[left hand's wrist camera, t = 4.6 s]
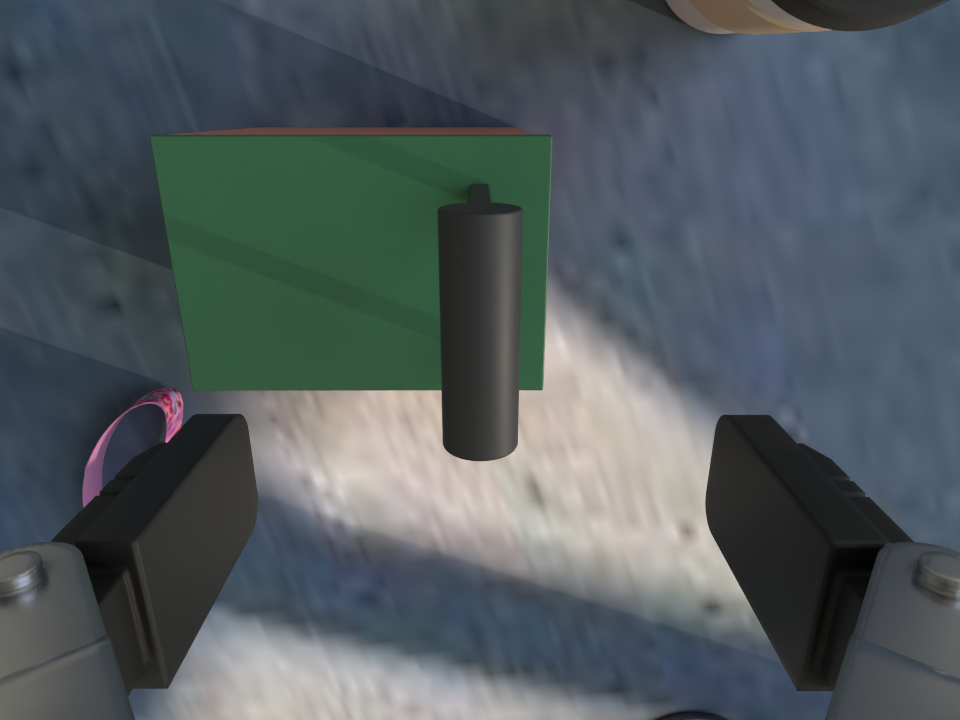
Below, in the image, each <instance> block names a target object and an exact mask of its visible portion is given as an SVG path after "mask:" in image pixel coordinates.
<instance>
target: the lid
mask: <svg viewBox="0 0 960 720" xmlns="http://www.w3.org/2000/svg"><path fill="white" fill-rule="evenodd" d="M552 138H553V137H552V136H551V135H155V136H150V141H151V147H152V152H153V158H154V164H155V170H156V176H157V181H158V187H159V193H160V199H161V205H162V211H163V216H164V222H165V228H166V234H167V240H168V246H169V251H170V257H171V263H172V269H173V275H174V281H175V286H176V292H177V298H178V304H179V310H180V316H181V321H182V327H183V333H184V339H185V345H186V351H187V356H188V362H189V368H190V374H191V380H192V386H193V390H442V426H443V445H444V448H445V449H446V450H447V451H448V452H449V453H450V454H452V455H453V456H456V457H458V458H461V459H465V460H471V461H490V460H496V459H500V458H503V457H505V456H507V455H509V454H511V453H512V452H513V451H514V450H515V448H516V447H517V444H518V405H519V390H543V378H544V352H545V325H546V298H547V271H548V245H549V218H550V191H551V164H552Z"/></svg>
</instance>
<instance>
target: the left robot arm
mask: <svg viewBox="0 0 960 720" xmlns="http://www.w3.org/2000/svg"><path fill="white" fill-rule="evenodd" d="M257 510H258V495H257V487H256V480H255V473H254V466H253V459H252V452H251V445H250V438H249V431H248V426H247V422H246V420H245V418H244V416H243V415H241V414H195V415H193V416H192V417H191V418H190V419H189V420H188V421H187V422H186V423H185V424H184V425H183V426H182V427H181V429H180V430H179V431H178V432H177V433H176V434H175V435H174V436H173V437H172V438H171V439H170V440H169V441H168V442H161V443H159V444H158V445H156V446H154V447H152V448H150V449H149V450H147V451H145V452H143V453H141V454H140V455H138V456H136V457H134V458H133V459H132V460H131V461H130V462H129V463H128V464H127V465H126V466H125V467H124V468H123V469H122V470H121V471H120V472H119V473H118V474H117V475H116V476H115V480H111V481H110V482H109V483H108V484H107V485H106V486H105V487H104V488H103V489H102V490H101V491H100V495H99V496H95V497H94V498H93V499H92V500H91V501H90V502H89V503H88V504H87V505H86V506H85V507H84V508H83V509H82V510H81V511H80V512H79V513H78V514H77V515H76V516H75V517H74V518H73V519H72V520H71V521H70V522H69V523H68V524H67V525H66V526H65V527H64V528H63V529H62V530H61V531H60V532H59V533H58V534H57V535H56V536H55V537H54V538H53V539H52V540H51V541H50V542H41V543H33V544H28V545H23V546H19V547H16V548H12V549H9V550H6V551H4V552H1V553H0V720H135V718H134V715H133V712H132V708H131V705H130V702H129V699H128V696H129V694H130V693H131V691H132V689H168V687H169V686H170V684H171V682H172V680H173V678H174V676H175V674H176V673H177V671H178V669H179V667H180V665H181V663H182V661H183V660H184V658H185V656H186V654H187V652H188V650H189V648H190V647H191V645H192V643H193V641H194V639H195V637H196V635H197V634H198V632H199V630H200V628H201V626H202V624H203V622H204V621H205V619H206V617H207V615H208V613H209V611H210V609H211V608H212V606H213V604H214V602H215V600H216V598H217V596H218V595H219V593H220V591H221V589H222V587H223V585H224V583H225V582H226V580H227V578H228V576H229V574H230V572H231V570H232V569H233V567H234V565H235V563H236V561H237V559H238V557H239V556H240V554H241V552H242V550H243V548H244V546H245V544H246V543H247V541H248V539H249V537H250V535H251V533H252V531H253V529H254V526H255V522H256V517H257ZM706 516H707V521H708V525H709V529H710V531H711V534H712V536H713V537H714V539H715V541H716V543H717V545H718V547H719V548H720V550H721V552H722V554H723V556H724V558H725V559H726V561H727V563H728V565H729V567H730V569H731V570H732V572H733V574H734V576H735V578H736V580H737V581H738V583H739V585H740V587H741V589H742V591H743V592H744V594H745V596H746V598H747V600H748V602H749V603H750V605H751V607H752V609H753V611H754V613H755V614H756V616H757V618H758V620H759V622H760V624H761V625H762V627H763V629H764V631H765V633H766V635H767V636H768V638H769V640H770V642H771V644H772V646H773V647H774V649H775V651H776V653H777V655H778V657H779V658H780V660H781V662H782V664H783V666H784V668H785V669H786V671H787V673H788V675H789V677H790V679H791V680H792V682H793V684H794V686H795V688H796V690H797V691H833V695H832V699H831V702H830V705H829V708H828V712H827V715H826V718H825V720H960V553H959V552H956V551H954V550H951V549H948V548H944V547H941V546H937V545H932V544H927V543H919V542H914V541H913V540H912V539H911V538H910V537H909V536H908V535H907V534H906V533H905V532H904V531H903V530H902V529H901V528H900V527H899V526H898V525H897V524H896V523H895V522H894V521H893V520H892V519H891V518H890V517H889V516H888V515H887V514H886V513H885V512H884V511H883V510H882V509H881V508H880V507H879V506H878V505H877V504H876V503H875V502H874V501H872V500H871V499H870V498H869V497H865V493H864V492H863V491H862V490H861V489H860V488H859V487H858V486H857V485H856V484H855V483H854V482H853V481H850V478H849V477H848V476H847V475H846V474H845V473H844V472H843V471H842V470H841V469H840V468H839V467H838V466H837V465H836V464H835V463H834V462H833V461H832V460H831V459H830V458H828V457H826V456H824V455H823V454H821V453H819V452H817V451H815V450H814V449H812V448H810V447H808V446H806V445H804V444H797V443H796V442H795V441H794V440H793V439H792V438H791V437H790V436H789V435H788V434H787V433H786V432H785V430H784V429H783V428H782V427H781V426H780V425H779V424H778V423H777V422H776V421H775V420H774V419H773V418H772V417H771V416H769V415H723V416H721V417H720V418H719V420H718V422H717V425H716V429H715V435H714V442H713V449H712V456H711V463H710V470H709V477H708V484H707V491H706ZM661 720H727V719H725V718H723V717H720V716H717V715H713V714H707V713H683V714H677V715H673V716H669V717H666V718H663V719H661Z"/></svg>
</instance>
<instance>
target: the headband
mask: <svg viewBox="0 0 960 720" xmlns="http://www.w3.org/2000/svg"><path fill="white" fill-rule="evenodd" d="M143 404H156V405H158V406H160V407H161V408H162V409H163V411H164V413H165V415H166V421H167V431H166V439H165V442H168V441H169V440H170V439H171V438H172V437H173V436H174V435H175V434H176V433H177V432H178V431H179V430H180V429H181V424H182V418H183V401H182V397H181V395H180V393H179V392H178V391H177V390H175V389H173V388H167V387H166V388H160V389H157V390H154V391H152V392H150V393H148V394H147V395H145V396H144V397H142V398H141V399H140V400H138V401H137V402H136V403H135V404H134V405H132V406H131V407H130V408H129V409H128V410H127V411H125V412H124V413H123V414H122V415H121V416H119V417H118V418H117V419H116V420H115V421H114V422H113V423H112V424H111V425H110V426H109V427H108V429H107V430H106V431H105V432H104V434H103V435H102V436H101V438H100V439H99V441H98V442H97V444H96V446H95V448H94V450H93V452H92V454H91V456H90V459H89V460H88V462H87V465H86V468H85V473H84V475H85V476H84V481H83V495H82V496H83V508H84V507H85V506H86V505H87V504H88V503H89V502H90V501H91V500H92V499H93V498H94V497H95V496H99V495H100V491H101V490H102V489H103V487H102V469H103V461H104V456H105V453H106V449H107V446H108V443H109V441H110V438H111V436H112V434H113V432H114V430H115V429H116V427H117V425H118V424H119V422H120V421H121V419H122V418H123V417H124V415H125V414H126V413H127V412H128V411H129V410H131V409H133V408H135V407H137V406H140V405H143Z"/></svg>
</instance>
